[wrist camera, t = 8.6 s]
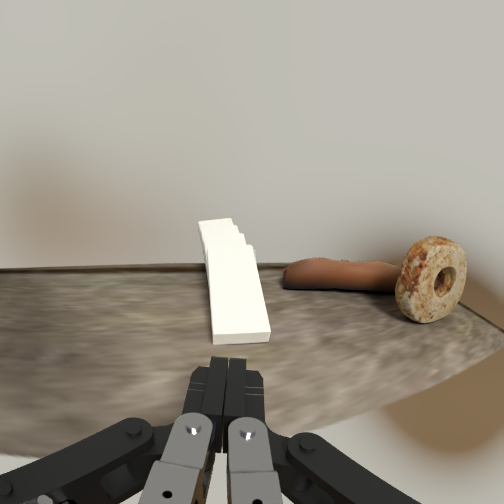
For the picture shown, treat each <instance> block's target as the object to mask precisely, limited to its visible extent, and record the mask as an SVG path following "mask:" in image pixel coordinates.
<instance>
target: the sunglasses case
mask: <svg viewBox="0 0 504 504" xmlns="http://www.w3.org/2000/svg"><path fill="white" fill-rule="evenodd" d="M400 269H401V267H398V266H395V265H392V264H388V263H384V262H377V261H358V262H349V261H348V260H341V261H337V260H331V259H326V258H310V259H304V260H300V261H297V262H293V263H292V264H291V265H290V266H289V267H286V268H284V269H283V270H282V271H283V273H284V288H283V289H286V288H288V289H318V288H323V289H330V288H339V289H349V290H370V291H383V292H395V288H396V284H397V281H398V277H399V276H400Z"/></svg>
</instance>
